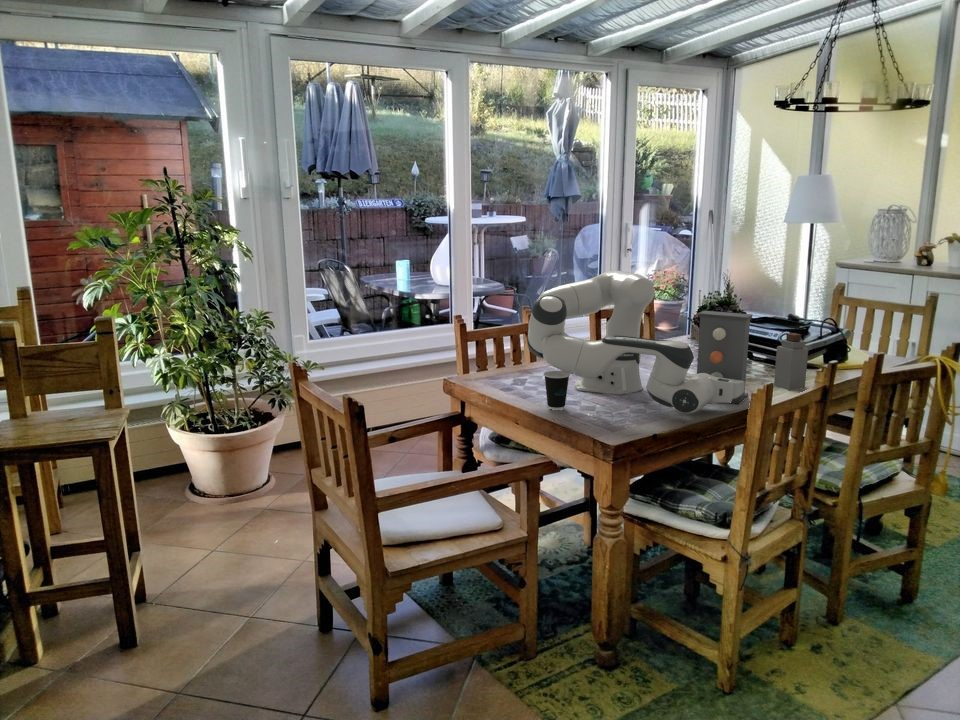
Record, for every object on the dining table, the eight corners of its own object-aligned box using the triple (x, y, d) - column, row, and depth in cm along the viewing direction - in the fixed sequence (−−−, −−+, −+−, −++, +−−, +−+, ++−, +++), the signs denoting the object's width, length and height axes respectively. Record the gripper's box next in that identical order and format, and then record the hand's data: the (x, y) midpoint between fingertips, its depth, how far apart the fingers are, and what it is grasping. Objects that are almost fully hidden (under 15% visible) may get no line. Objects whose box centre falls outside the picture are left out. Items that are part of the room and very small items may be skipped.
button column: (691, 397, 235) (696, 314, 228) (701, 390, 243) (706, 309, 237) (739, 404, 226) (745, 318, 220) (747, 396, 235) (754, 313, 228)
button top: (712, 339, 226) (712, 328, 225) (715, 337, 229) (716, 326, 228) (724, 340, 224) (724, 329, 223) (727, 338, 227) (727, 327, 226)
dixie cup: (561, 413, 219) (561, 378, 217) (538, 409, 224) (538, 374, 221) (573, 407, 226) (574, 372, 223) (551, 403, 230) (552, 369, 228)
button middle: (709, 362, 227) (710, 351, 226) (712, 360, 229) (713, 349, 228) (721, 363, 225) (721, 352, 224) (724, 361, 227) (725, 350, 226)
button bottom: (709, 383, 229) (710, 372, 229) (712, 381, 232) (713, 370, 231) (721, 384, 227) (721, 373, 227) (724, 382, 230) (724, 371, 229)
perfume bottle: (789, 383, 250) (794, 331, 246) (804, 388, 244) (809, 335, 240) (773, 385, 248) (778, 333, 243) (788, 390, 241) (793, 336, 237)
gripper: (667, 393, 223) (682, 383, 234) (736, 403, 212) (748, 392, 223) (668, 373, 222) (683, 364, 233) (737, 382, 211) (750, 372, 222)
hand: (716, 378), depth 228 cm, fingers closed, pressing on button bottom
